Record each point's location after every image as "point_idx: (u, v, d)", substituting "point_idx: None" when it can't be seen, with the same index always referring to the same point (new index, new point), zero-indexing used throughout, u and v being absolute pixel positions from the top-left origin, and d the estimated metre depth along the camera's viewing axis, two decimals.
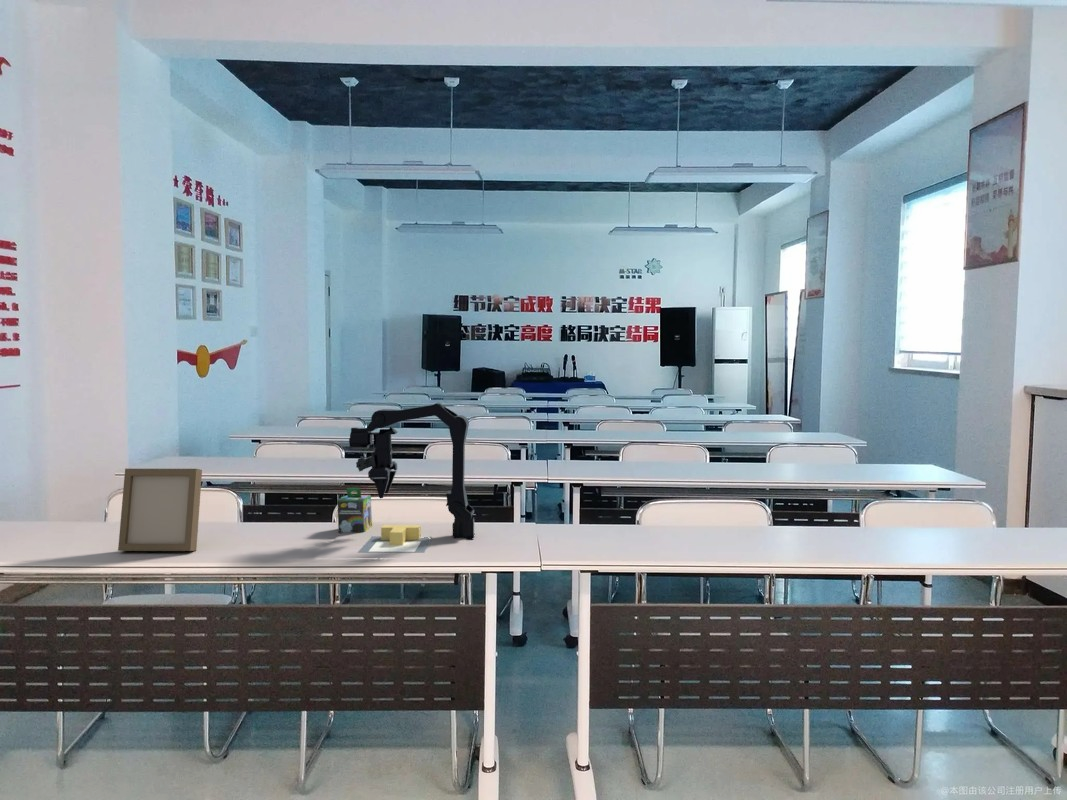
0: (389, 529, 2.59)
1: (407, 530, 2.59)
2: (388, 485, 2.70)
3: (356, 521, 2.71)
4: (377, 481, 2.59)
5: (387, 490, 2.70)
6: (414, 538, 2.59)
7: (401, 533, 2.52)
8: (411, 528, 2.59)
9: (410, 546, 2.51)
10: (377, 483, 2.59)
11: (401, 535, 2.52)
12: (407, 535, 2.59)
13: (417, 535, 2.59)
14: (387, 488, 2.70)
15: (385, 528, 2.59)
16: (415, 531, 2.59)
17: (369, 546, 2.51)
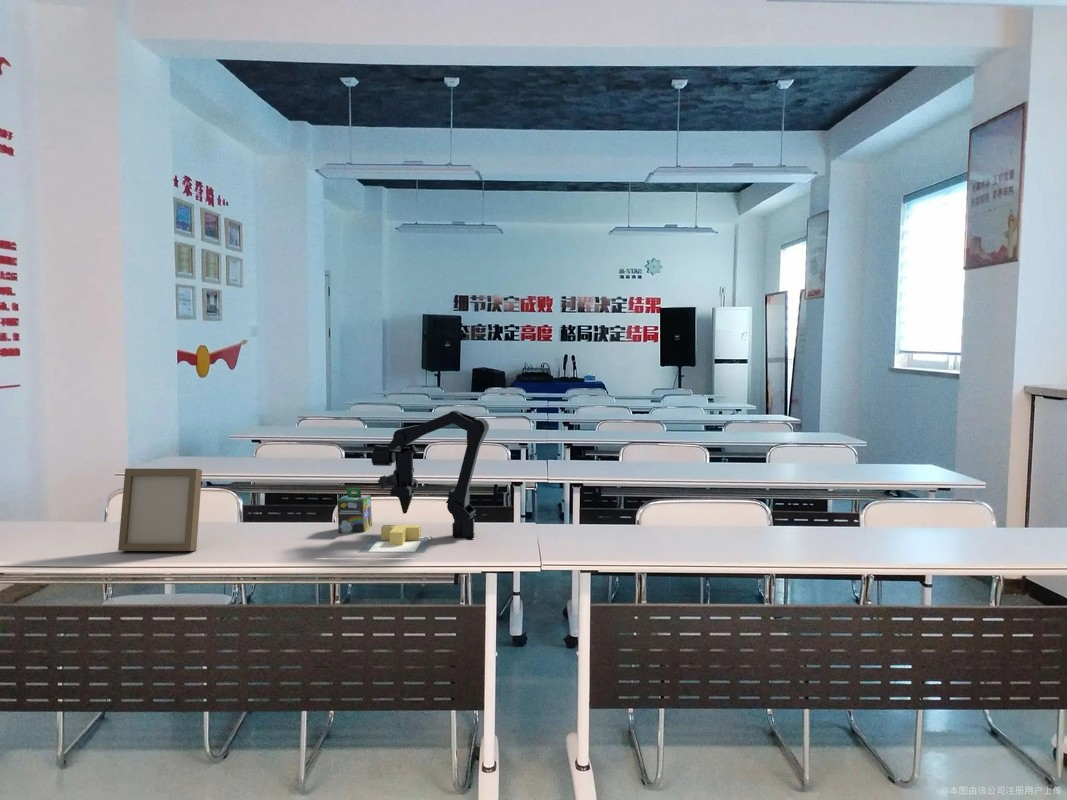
0: (389, 529, 2.59)
1: (407, 530, 2.59)
2: None
3: (356, 521, 2.71)
4: (401, 497, 2.66)
5: None
6: (414, 538, 2.59)
7: (401, 533, 2.52)
8: (411, 528, 2.59)
9: (410, 546, 2.51)
10: (401, 499, 2.66)
11: (401, 535, 2.52)
12: (407, 535, 2.59)
13: (417, 535, 2.59)
14: None
15: (385, 528, 2.59)
16: (415, 531, 2.59)
17: (369, 546, 2.51)
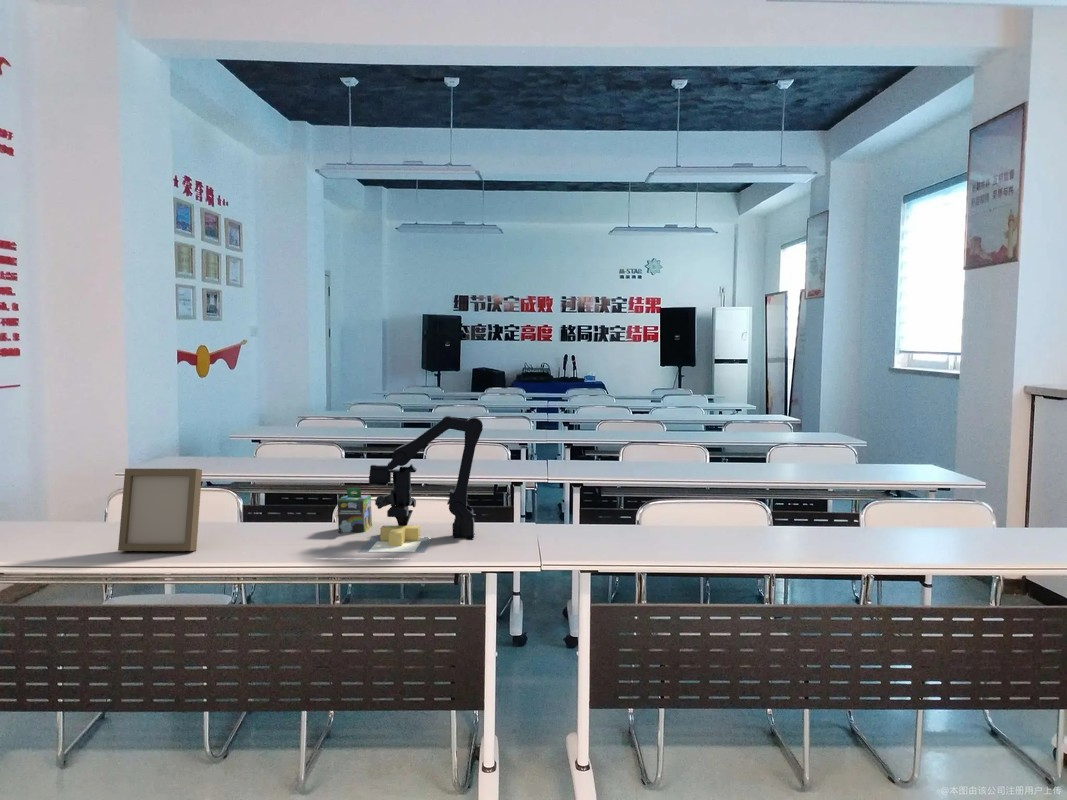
0: (388, 530, 2.58)
1: (406, 531, 2.58)
2: None
3: (356, 521, 2.71)
4: (398, 517, 2.62)
5: None
6: (413, 539, 2.58)
7: (400, 534, 2.51)
8: (410, 529, 2.58)
9: (410, 546, 2.51)
10: (398, 519, 2.62)
11: (400, 536, 2.51)
12: (406, 536, 2.58)
13: (416, 536, 2.58)
14: None
15: (384, 529, 2.58)
16: (414, 532, 2.58)
17: (369, 546, 2.51)
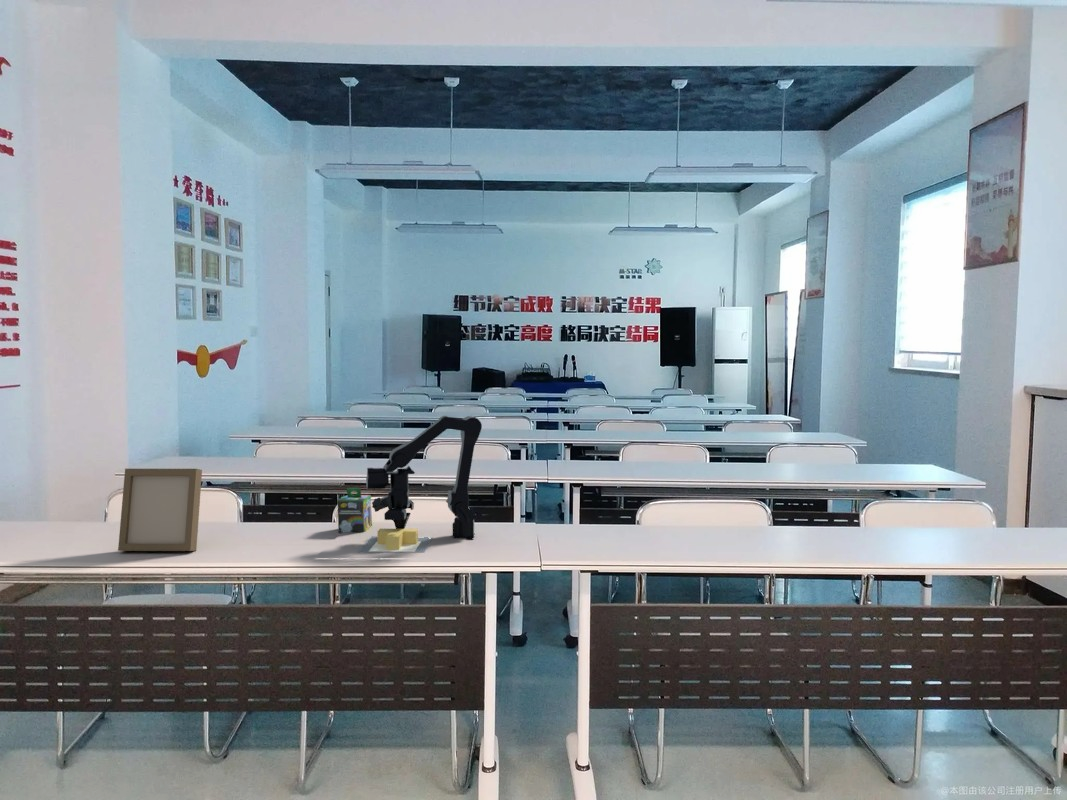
0: (386, 533, 2.54)
1: (404, 534, 2.54)
2: None
3: (356, 521, 2.71)
4: (396, 520, 2.58)
5: None
6: (411, 542, 2.54)
7: (397, 537, 2.47)
8: (408, 532, 2.54)
9: (410, 546, 2.51)
10: (396, 522, 2.58)
11: (397, 539, 2.47)
12: (404, 539, 2.54)
13: (414, 539, 2.54)
14: None
15: (381, 532, 2.54)
16: (412, 535, 2.54)
17: (369, 546, 2.51)
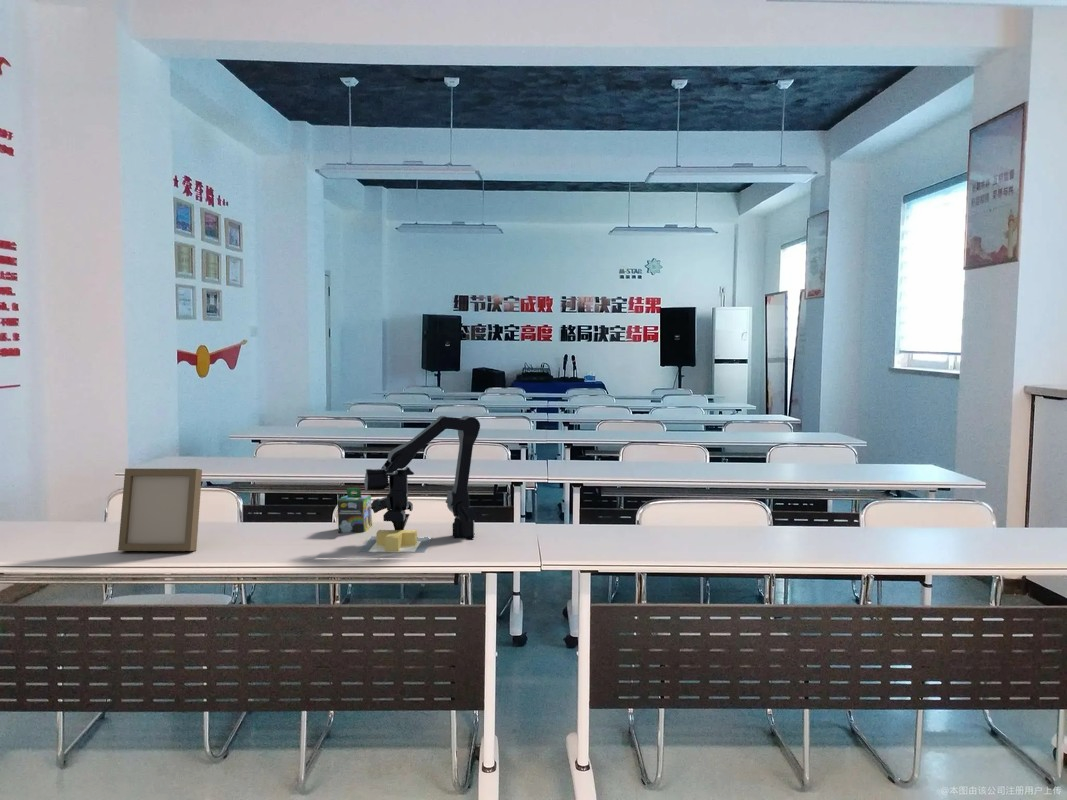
0: (384, 534, 2.52)
1: (403, 535, 2.52)
2: None
3: (356, 521, 2.71)
4: (395, 521, 2.56)
5: None
6: (410, 544, 2.52)
7: (397, 539, 2.45)
8: (407, 533, 2.52)
9: (410, 546, 2.51)
10: (395, 523, 2.56)
11: (397, 541, 2.45)
12: (403, 541, 2.52)
13: (413, 541, 2.52)
14: None
15: (380, 533, 2.52)
16: (411, 537, 2.52)
17: (369, 546, 2.51)
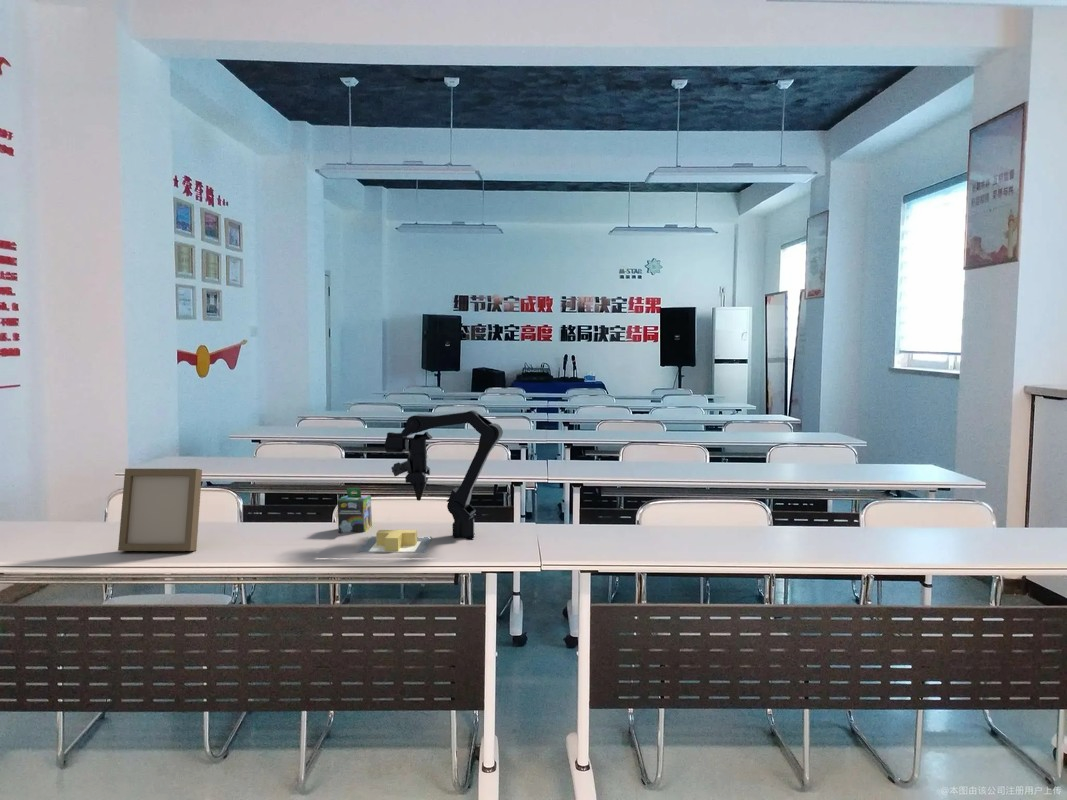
0: (384, 534, 2.52)
1: (403, 535, 2.52)
2: None
3: (356, 521, 2.71)
4: (415, 484, 2.65)
5: None
6: (410, 544, 2.52)
7: (397, 539, 2.45)
8: (407, 533, 2.52)
9: (410, 546, 2.51)
10: (415, 486, 2.65)
11: (397, 541, 2.45)
12: (403, 541, 2.52)
13: (413, 541, 2.52)
14: None
15: (380, 533, 2.52)
16: (411, 537, 2.52)
17: (369, 546, 2.51)
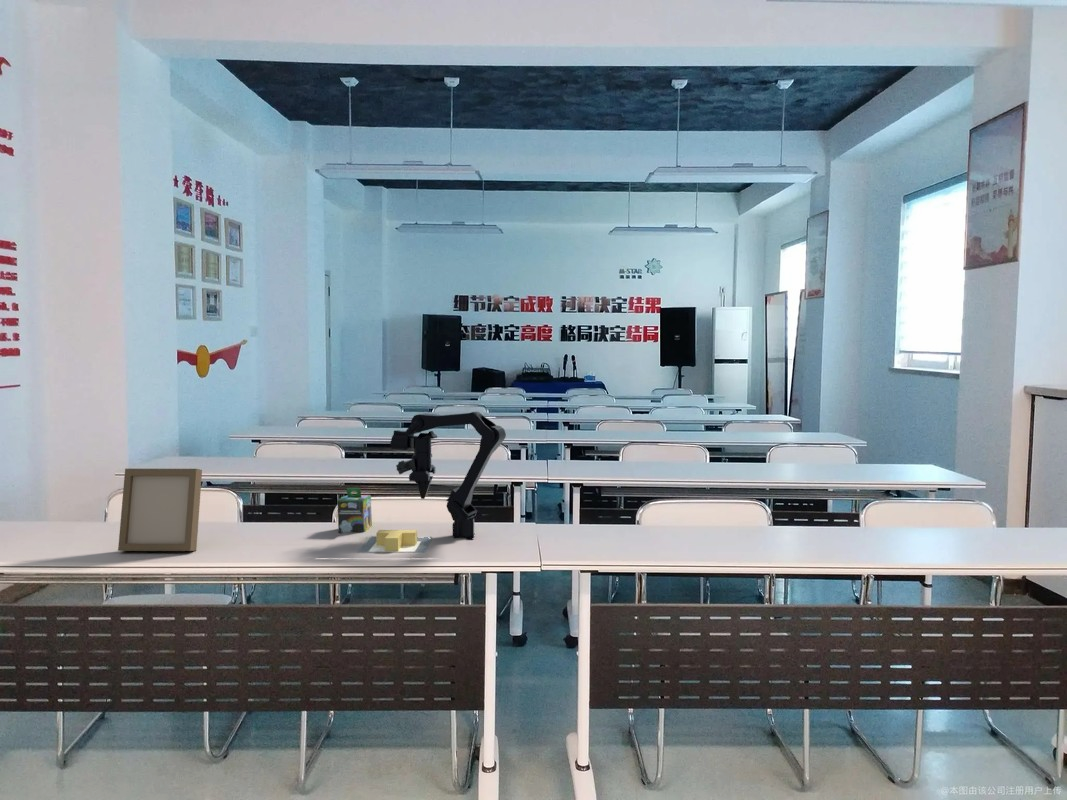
0: (384, 534, 2.52)
1: (403, 535, 2.52)
2: None
3: (356, 521, 2.71)
4: (419, 482, 2.67)
5: None
6: (410, 544, 2.52)
7: (397, 539, 2.45)
8: (407, 533, 2.52)
9: (410, 546, 2.51)
10: (419, 484, 2.67)
11: (397, 541, 2.45)
12: (403, 541, 2.52)
13: (413, 541, 2.52)
14: None
15: (380, 533, 2.52)
16: (411, 537, 2.52)
17: (369, 546, 2.51)
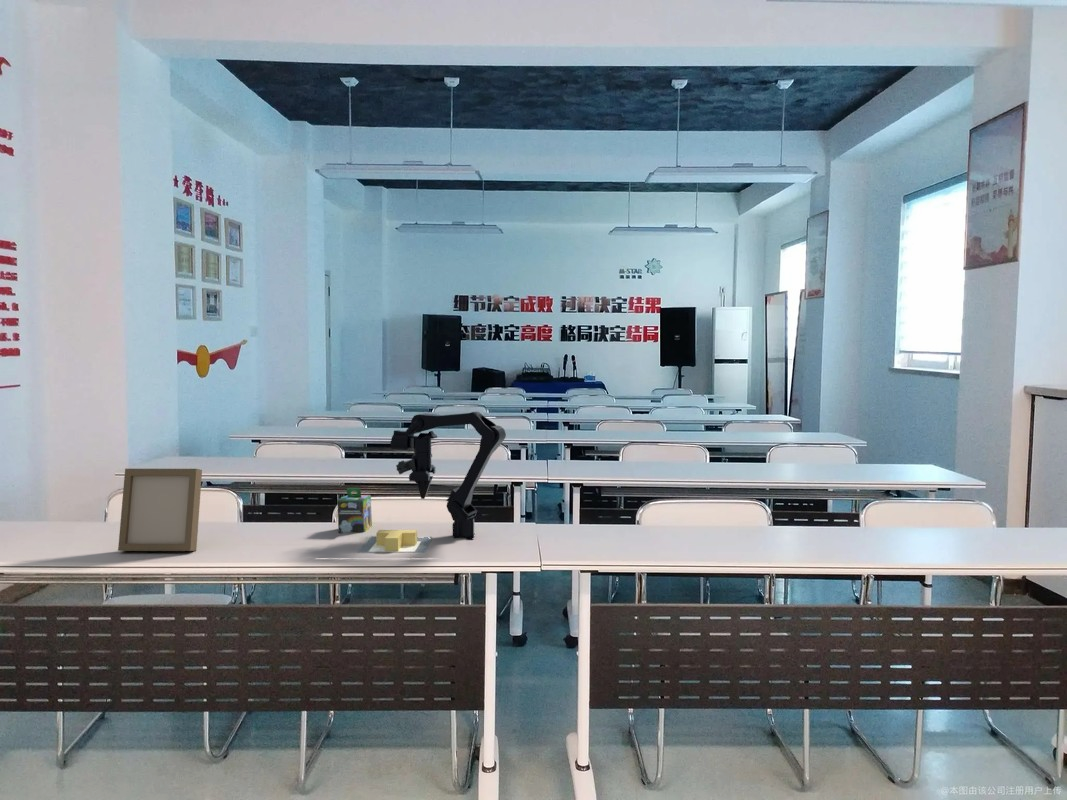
0: (384, 534, 2.52)
1: (403, 535, 2.52)
2: None
3: (356, 521, 2.71)
4: (419, 482, 2.67)
5: None
6: (410, 544, 2.52)
7: (397, 539, 2.45)
8: (407, 533, 2.52)
9: (410, 546, 2.51)
10: (419, 484, 2.67)
11: (397, 541, 2.45)
12: (403, 541, 2.52)
13: (413, 541, 2.52)
14: None
15: (380, 533, 2.52)
16: (411, 537, 2.52)
17: (369, 546, 2.51)
